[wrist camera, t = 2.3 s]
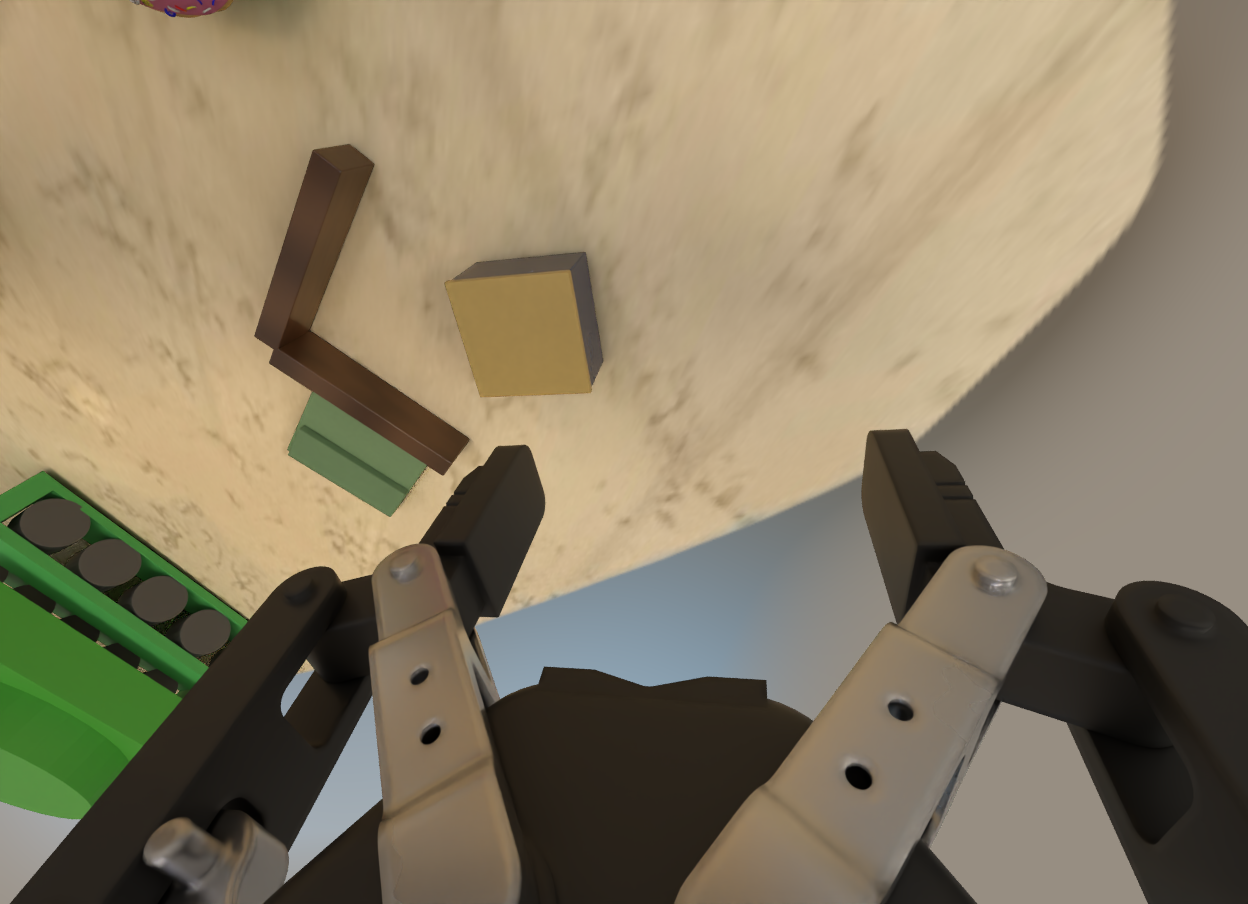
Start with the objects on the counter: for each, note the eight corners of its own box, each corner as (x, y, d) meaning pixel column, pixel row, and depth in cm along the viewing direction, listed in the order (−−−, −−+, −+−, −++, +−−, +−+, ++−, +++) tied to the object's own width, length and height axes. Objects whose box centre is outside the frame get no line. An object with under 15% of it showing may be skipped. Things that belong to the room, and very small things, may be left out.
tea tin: (504, 367, 33) (480, 397, 30) (474, 261, 30) (443, 282, 26) (604, 362, 32) (590, 393, 29) (586, 250, 28) (568, 271, 25)
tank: (-10, 418, 44) (-322, 560, 31) (302, 660, 60) (181, 824, 46) (-99, 501, 54) (-366, 635, 41) (189, 690, 69) (62, 833, 56)
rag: (293, 444, 40) (281, 454, 39) (320, 383, 37) (307, 393, 35) (397, 507, 42) (388, 519, 41) (432, 457, 39) (423, 468, 38)
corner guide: (354, 452, 40) (330, 476, 37) (211, 165, 29) (164, 172, 27) (473, 450, 38) (456, 476, 35) (366, 141, 27) (331, 147, 25)
